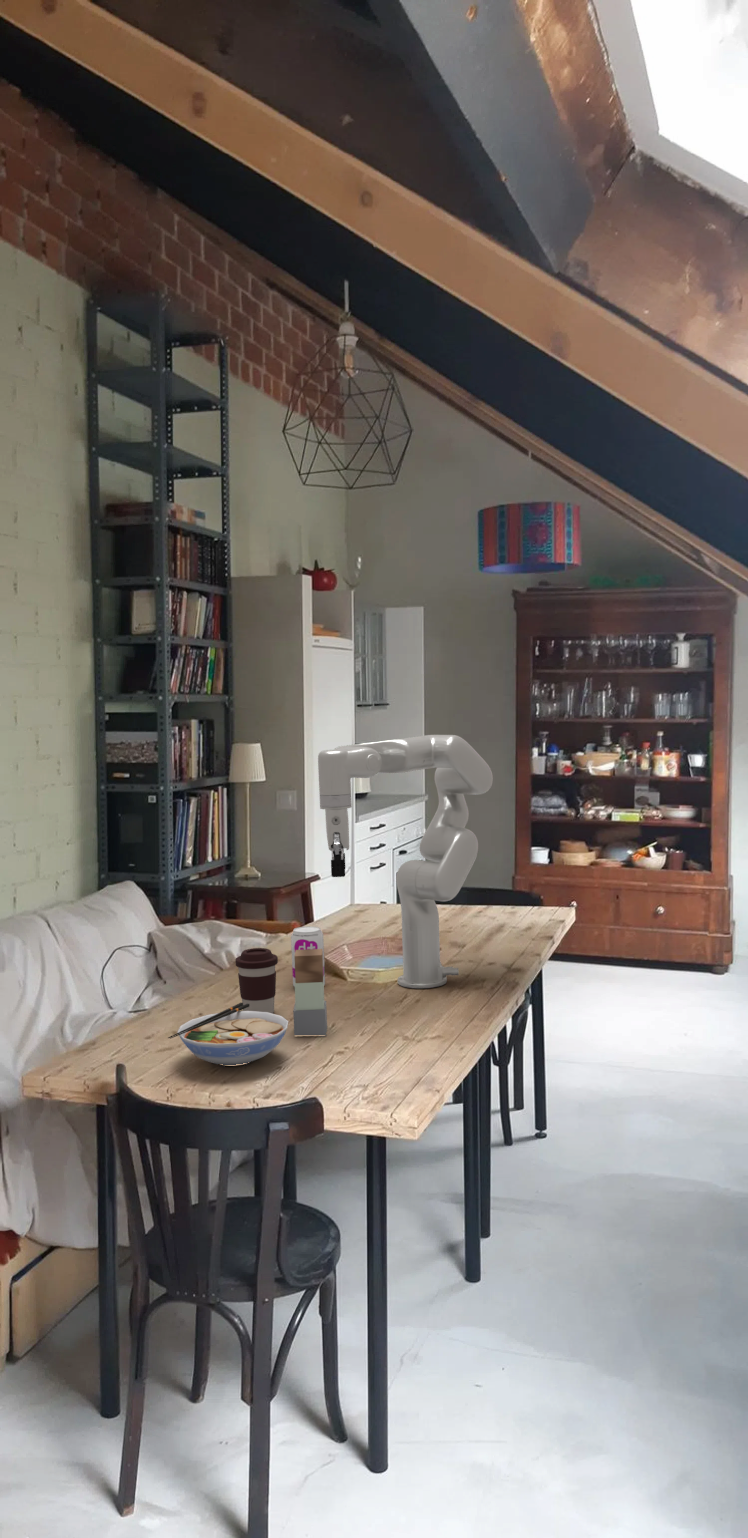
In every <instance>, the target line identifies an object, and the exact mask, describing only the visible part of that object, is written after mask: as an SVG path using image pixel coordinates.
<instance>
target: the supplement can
mask: <svg viewBox="0 0 748 1538" xmlns="http://www.w3.org/2000/svg"><path fill="white" fill-rule="evenodd" d="M290 940H291V941H290V942H291V945H290V947H291V966H292V967H291V968H292V971H291V972H292V986H293V987H294V988H295V951H296V950H307V949H322V951H323V977H324V986H326V985H325V984H326V975H325V974H326V972H325V971H326V970H325V969H326V968H325V946H324V945H325V944H324V941H325V940H324V933H323V931H322V929H321V927H318V926H300V927H295V928H294V929H293V931H292V933H291V936H290Z"/></svg>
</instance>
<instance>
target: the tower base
mask: <svg viewBox="0 0 748 1538" xmlns="http://www.w3.org/2000/svg"><path fill="white" fill-rule="evenodd" d="M292 1012H293V1015H292V1016H293V1034H294V1035H326V1036H327V1034H326V1032H327V1031H328V1014H327V1013H328V1011H327V1000H324V1009H317V1010H296V1007H295V1004H294V1006H293V1011H292Z"/></svg>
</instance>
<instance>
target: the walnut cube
mask: <svg viewBox="0 0 748 1538" xmlns="http://www.w3.org/2000/svg"><path fill="white" fill-rule="evenodd" d="M295 982H296V983H313V982H323V951H322V949H307V950H296V951H295Z"/></svg>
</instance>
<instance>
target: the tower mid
mask: <svg viewBox="0 0 748 1538" xmlns="http://www.w3.org/2000/svg"><path fill="white" fill-rule="evenodd" d="M324 986H325V985H324V977H323V982H313V983H296V982H295V987H294V1005H295V1007H296V1010H317V1009H324V1001H325V987H324Z"/></svg>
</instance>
